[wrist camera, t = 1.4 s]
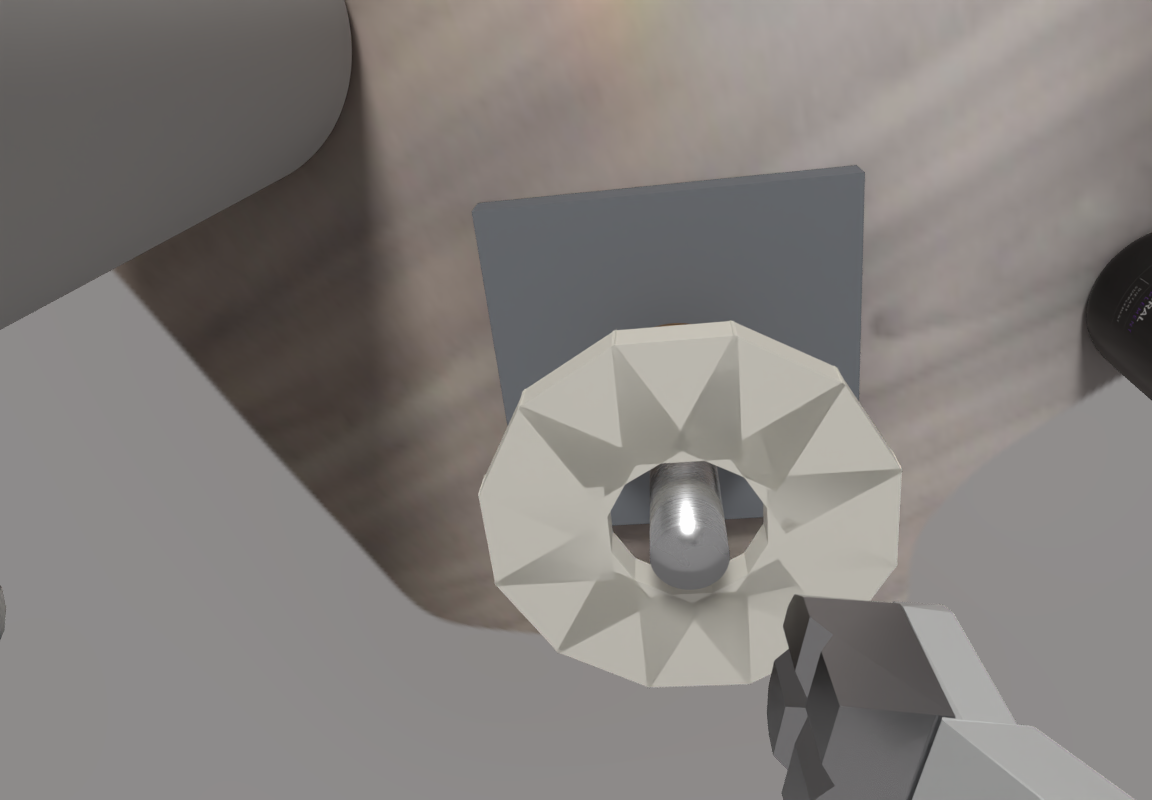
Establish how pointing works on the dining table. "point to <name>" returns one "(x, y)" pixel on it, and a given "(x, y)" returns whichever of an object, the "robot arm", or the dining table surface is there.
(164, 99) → the cylinder vase
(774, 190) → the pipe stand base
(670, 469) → the silver and orange rod
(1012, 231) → the dining table surface
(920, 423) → the dining table surface
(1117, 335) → the supplement bottle
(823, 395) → the silicone ring
